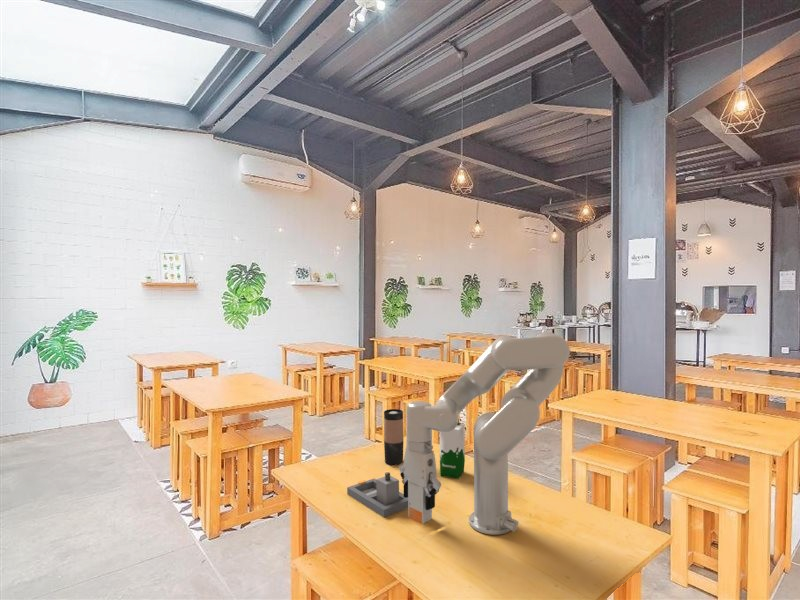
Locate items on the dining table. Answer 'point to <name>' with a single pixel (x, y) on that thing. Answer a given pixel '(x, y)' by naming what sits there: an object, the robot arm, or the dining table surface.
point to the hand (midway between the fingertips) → (418, 502)
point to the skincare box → (417, 503)
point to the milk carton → (452, 452)
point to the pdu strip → (375, 498)
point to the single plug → (387, 489)
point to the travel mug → (393, 436)
